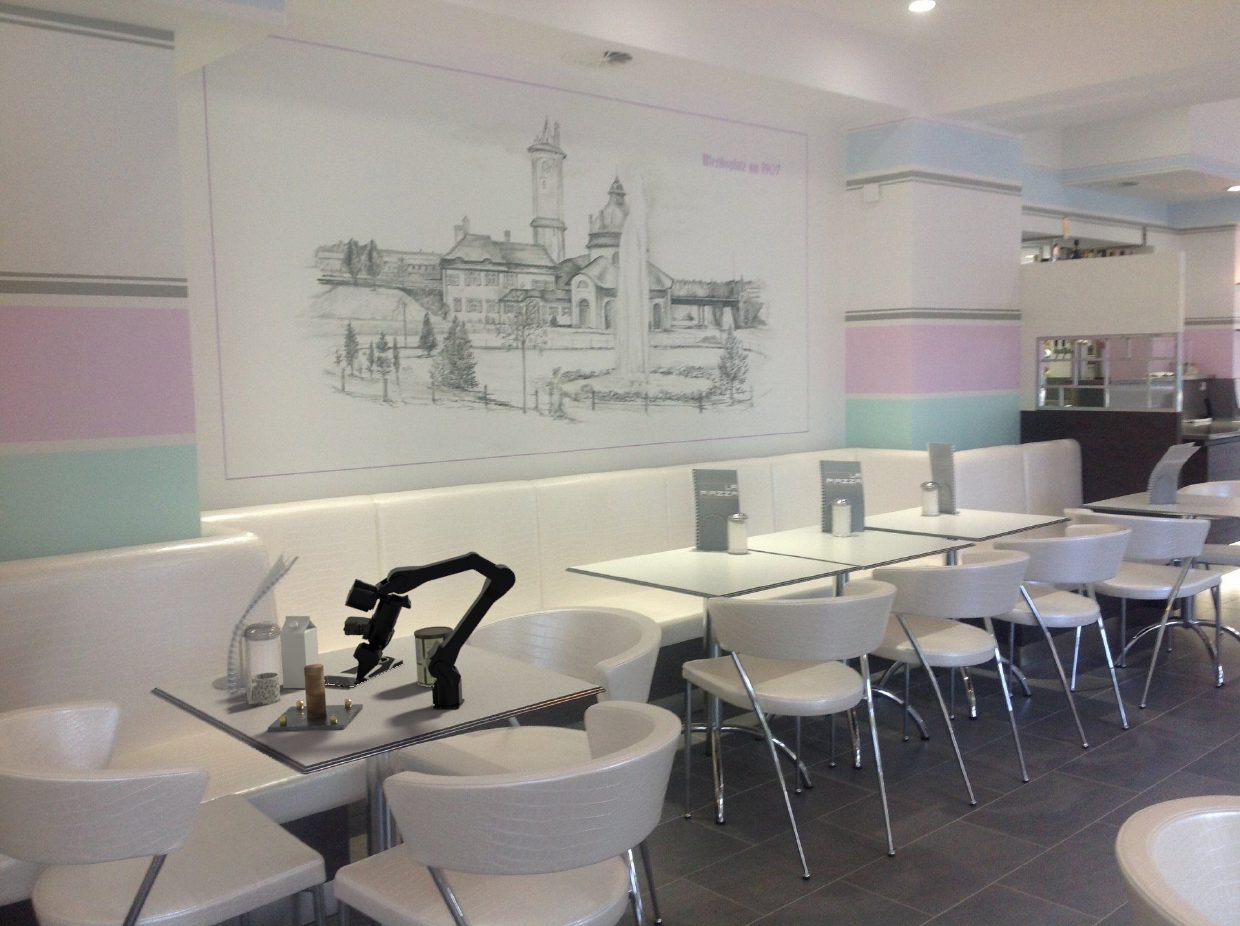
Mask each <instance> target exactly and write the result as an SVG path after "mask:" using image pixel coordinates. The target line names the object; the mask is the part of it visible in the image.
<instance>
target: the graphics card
mask: <svg viewBox="0 0 1240 926" xmlns="http://www.w3.org/2000/svg"><path fill="white" fill-rule="evenodd" d="M401 664H403V665H404V661H403V659H402V658H401V656H398V655H396V656H393V655H384V654H383V655H382V657H381V659H380V662H379V663H378V665H377V666H376V667H375V668H373V669H372V670H371V671H370V672H369V673H368V674H367V675H366V676H365V677H364V678H363V679H362V680H357V679H356V677H357V670H358V663H356V664H353V665H352V666H349V667H346V668H344V669H342V670H340V671H334V672H333V673H329V674H326V675H324V683H325V684H328V683H329V684H335V685H340V684H341V685H344V686H346V687H348V686H349V687H350V686H354V687H356V688H357V686H358V685H357V684H359V685H361V684H362V683H361V682H364V681H366V682H368V681H370V680H369V679H371V678H373V677H375V678H377V677H378V676H377V675H379V676H381V675H382V674H381V673H383V674H385V673H384V672H386V673H388V672H389V671H388V670H390V671H392V670H393V669H392V668H394V669H396V668H397V667H396V666H398V667H400V666H399V665H401ZM401 666H402V665H401ZM395 667H396V668H395ZM391 669H392V670H391ZM387 671H388V672H387ZM380 674H381V675H380ZM376 676H377V677H376ZM373 679H374V678H373ZM367 680H368V681H367ZM371 680H372V679H371ZM360 683H361V684H360ZM364 683H365V682H364ZM356 685H357V686H356ZM344 686H343V687H344ZM354 687H353V688H354Z"/></svg>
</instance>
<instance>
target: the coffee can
mask: <svg viewBox="0 0 1240 926" xmlns="http://www.w3.org/2000/svg"><path fill="white" fill-rule="evenodd" d="M453 630H454V628H452V627H450V626H445V625H444V626H443V625H442V626H439V625H438V626H428V627H422V628H418V629H416V630H415V631H414V632H413V636H414V647H415V660H416V661H415V662H416V677H417V679H416V681H417V683H418V684H419V685H421V686H420V687H422V686H434V682H435V681H436V680H437V679H436V678H434V677H432V676H431V675H430V673H429V671H428V669H427V666H426V658H427V656H428V655H427V652H428V651H429V650H430V649H431V648H432V647H433V645H434V643H435V641H436V640H437V641H438V642H439V643H442V642H443V641H444V640H446V639H447V638H448V637H449V635H450V634H451V632H452V631H453ZM418 684H417V685H418ZM419 685H418V686H419Z"/></svg>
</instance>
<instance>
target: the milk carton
mask: <svg viewBox="0 0 1240 926" xmlns="http://www.w3.org/2000/svg"><path fill="white" fill-rule="evenodd" d="M284 618H285V620H284V623H283V625H282V628H281V630H280V632H281V634H280V633H279V639H280V655H281V669H282V686H283V688H284V689H305V676H304V667H305V666H308V665H312V664H320V660H319V659H320V657H319V643H318V641H319V640H318V628H317V626H316V625H315V624H314V623H313V622H312V620H311V616H310V615H285V617H284Z"/></svg>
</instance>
